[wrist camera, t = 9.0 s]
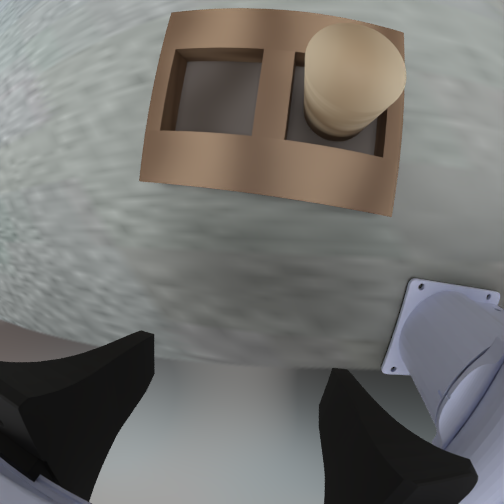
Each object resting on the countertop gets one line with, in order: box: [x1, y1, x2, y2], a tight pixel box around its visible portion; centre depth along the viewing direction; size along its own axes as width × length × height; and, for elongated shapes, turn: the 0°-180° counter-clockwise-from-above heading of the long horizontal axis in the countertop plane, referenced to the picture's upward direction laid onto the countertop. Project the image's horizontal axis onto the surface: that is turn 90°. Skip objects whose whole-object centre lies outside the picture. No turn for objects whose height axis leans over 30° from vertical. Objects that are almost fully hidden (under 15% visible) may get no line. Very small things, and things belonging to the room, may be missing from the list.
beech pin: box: [304, 23, 406, 142], centre depth 13 cm, size 4×4×8 cm
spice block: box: [139, 8, 405, 217], centre depth 17 cm, size 15×12×4 cm
